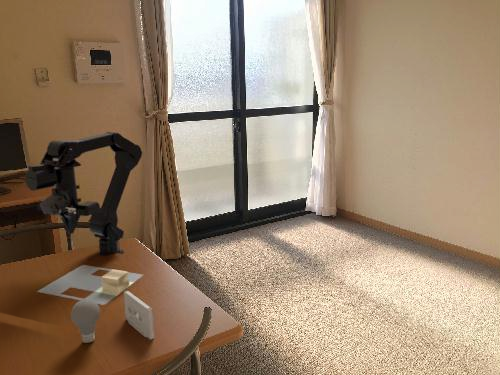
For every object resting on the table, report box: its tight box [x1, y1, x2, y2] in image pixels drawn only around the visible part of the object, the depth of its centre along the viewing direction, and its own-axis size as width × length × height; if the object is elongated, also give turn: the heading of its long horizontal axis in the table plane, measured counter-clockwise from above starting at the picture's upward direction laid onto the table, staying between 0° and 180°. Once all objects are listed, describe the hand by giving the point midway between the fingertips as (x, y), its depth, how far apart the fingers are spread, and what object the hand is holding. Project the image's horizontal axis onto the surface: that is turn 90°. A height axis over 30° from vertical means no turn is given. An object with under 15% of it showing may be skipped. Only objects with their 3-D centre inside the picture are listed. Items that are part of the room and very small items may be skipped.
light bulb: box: [70, 298, 101, 344], centre depth 93 cm, size 6×6×10 cm
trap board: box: [36, 264, 144, 306], centre depth 119 cm, size 18×22×2 cm
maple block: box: [100, 269, 130, 293], centre depth 115 cm, size 5×5×4 cm
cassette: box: [123, 290, 155, 340], centre depth 98 cm, size 12×2×8 cm, turn 43°
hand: (71, 233), depth 127 cm, fingers closed
